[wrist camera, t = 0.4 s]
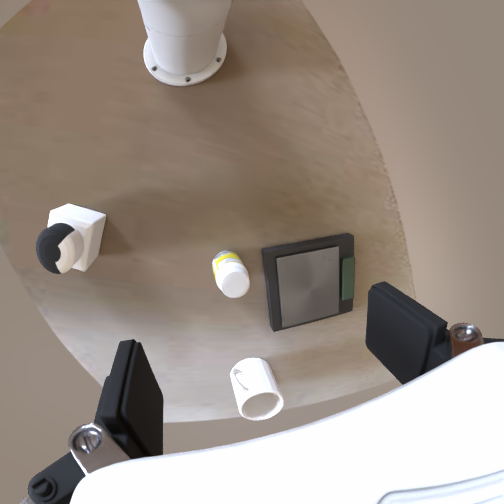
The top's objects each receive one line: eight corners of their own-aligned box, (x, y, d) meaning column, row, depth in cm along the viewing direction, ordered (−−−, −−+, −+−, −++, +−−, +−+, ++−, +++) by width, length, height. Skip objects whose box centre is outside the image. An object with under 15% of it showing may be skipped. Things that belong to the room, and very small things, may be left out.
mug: (242, 338, 52) (254, 372, 43) (277, 371, 56) (292, 404, 47) (209, 362, 52) (215, 397, 43) (246, 392, 56) (257, 426, 47)
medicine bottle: (61, 245, 40) (28, 270, 29) (68, 202, 38) (33, 217, 27) (98, 256, 42) (73, 286, 31) (107, 214, 40) (81, 232, 29)
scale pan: (274, 256, 46) (276, 258, 45) (336, 244, 48) (338, 246, 47) (281, 325, 50) (282, 327, 50) (336, 311, 52) (338, 313, 51)
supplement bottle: (234, 281, 48) (243, 305, 40) (207, 272, 47) (212, 295, 39) (245, 255, 47) (258, 275, 39) (218, 245, 46) (225, 263, 38)
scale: (261, 248, 48) (266, 254, 45) (348, 233, 50) (356, 237, 47) (270, 326, 52) (275, 334, 50) (347, 306, 55) (355, 313, 52)
